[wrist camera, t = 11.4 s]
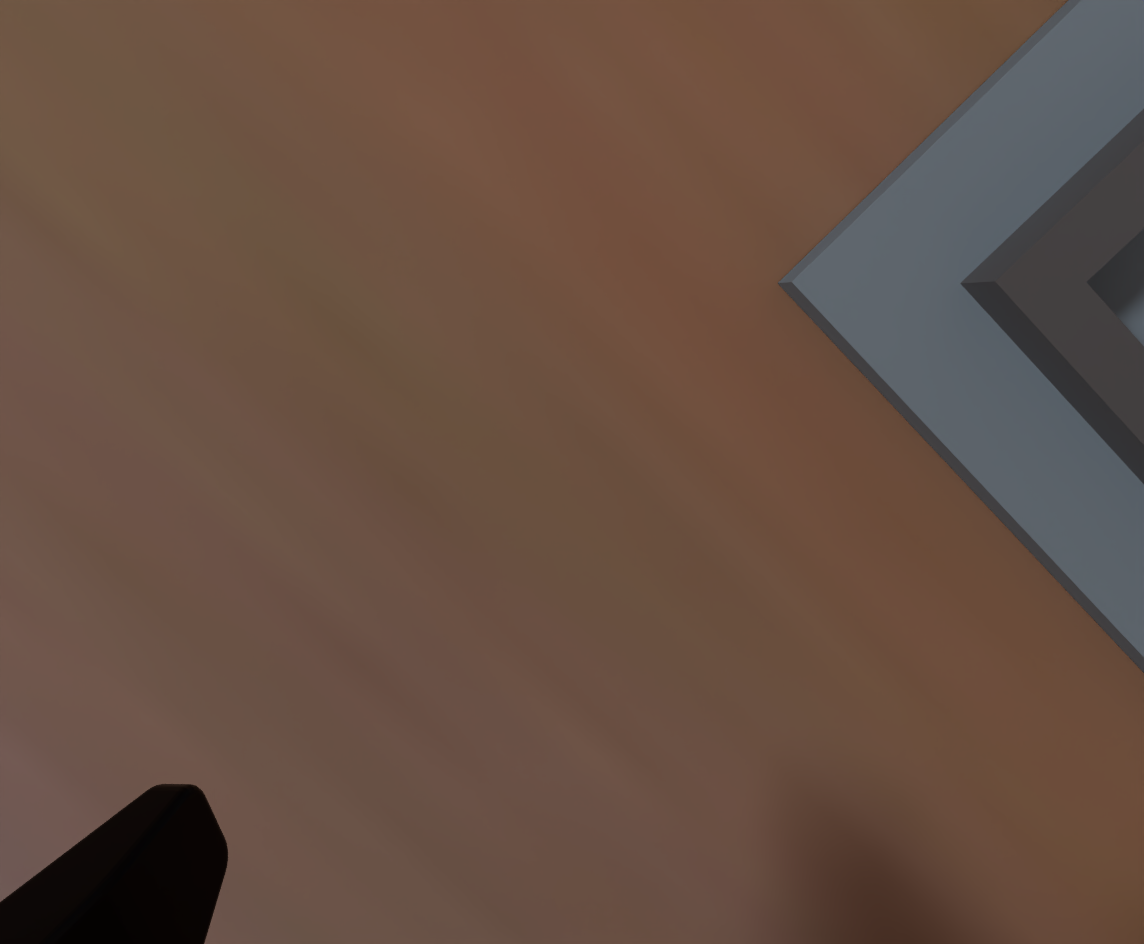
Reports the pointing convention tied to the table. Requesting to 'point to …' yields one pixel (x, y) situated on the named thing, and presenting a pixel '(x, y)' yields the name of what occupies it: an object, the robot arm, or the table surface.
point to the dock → (1019, 300)
